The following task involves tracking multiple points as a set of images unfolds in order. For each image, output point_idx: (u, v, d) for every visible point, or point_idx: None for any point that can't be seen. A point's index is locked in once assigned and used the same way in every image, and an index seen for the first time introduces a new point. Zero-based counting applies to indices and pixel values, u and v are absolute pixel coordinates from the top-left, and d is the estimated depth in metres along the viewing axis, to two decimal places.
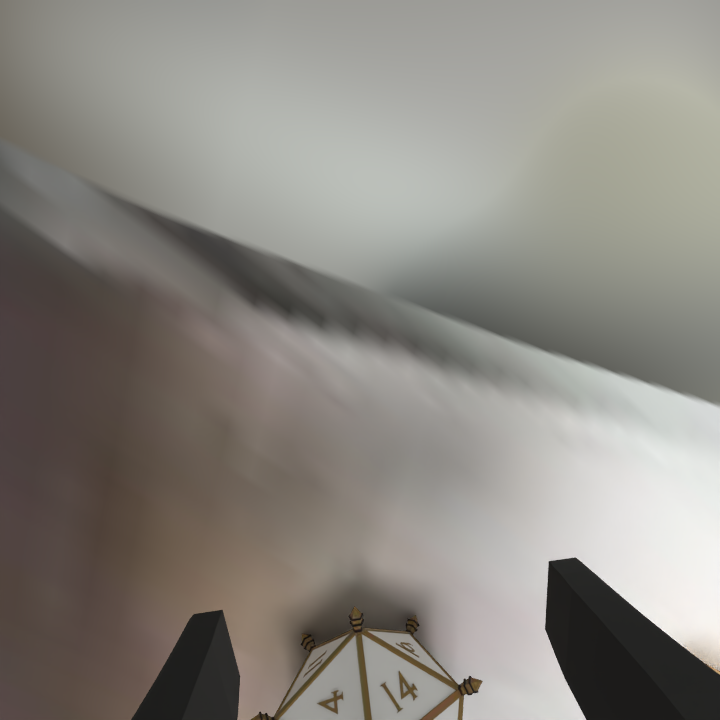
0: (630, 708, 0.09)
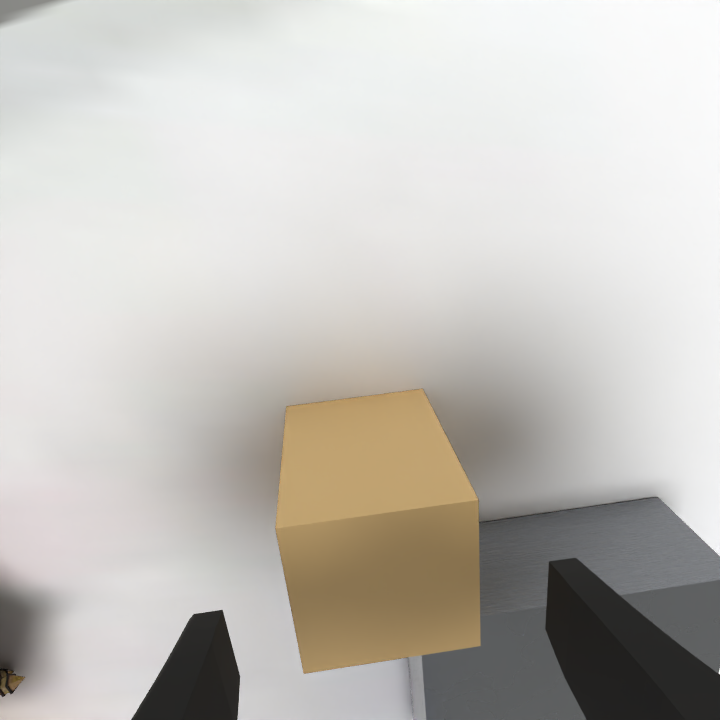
0: (630, 708, 0.09)
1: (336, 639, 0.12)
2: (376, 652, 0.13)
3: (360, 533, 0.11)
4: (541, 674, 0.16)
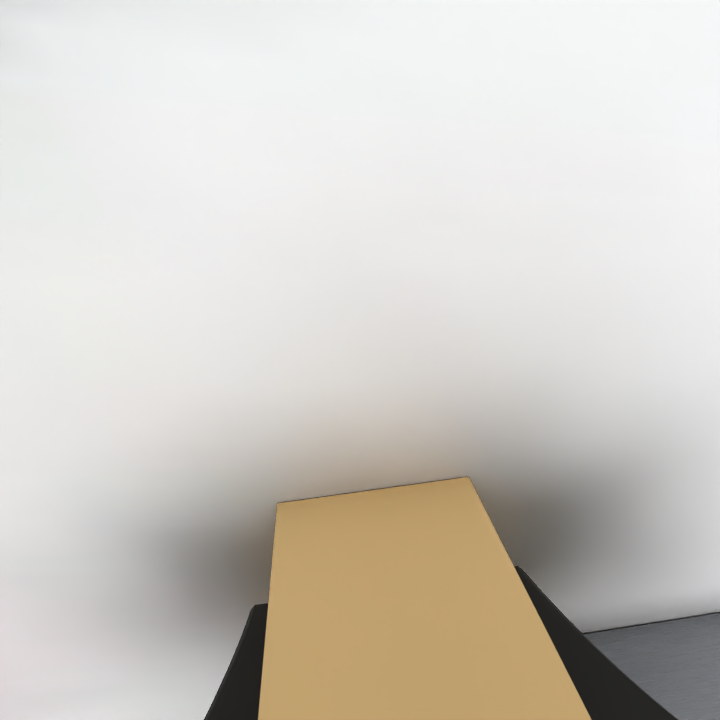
0: None
1: None
2: None
3: None
4: None
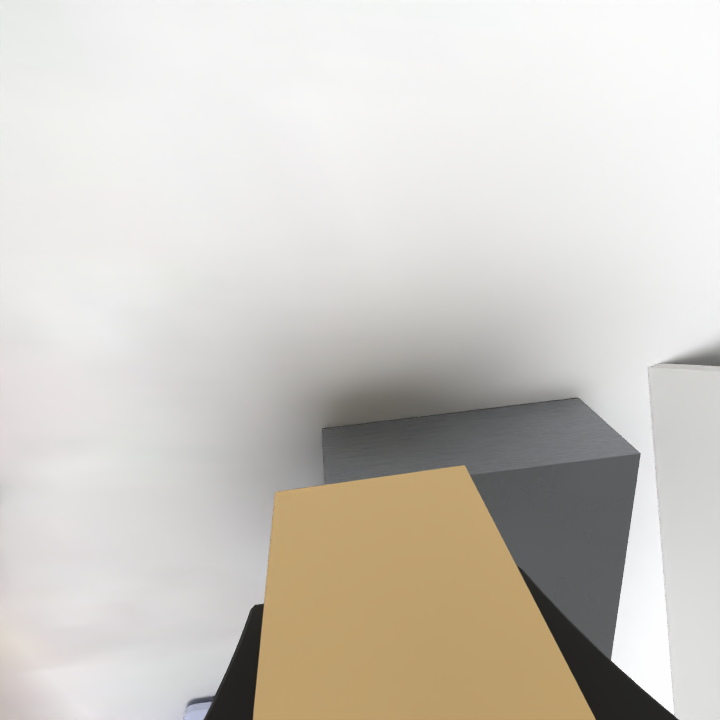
0: None
1: None
2: None
3: None
4: None
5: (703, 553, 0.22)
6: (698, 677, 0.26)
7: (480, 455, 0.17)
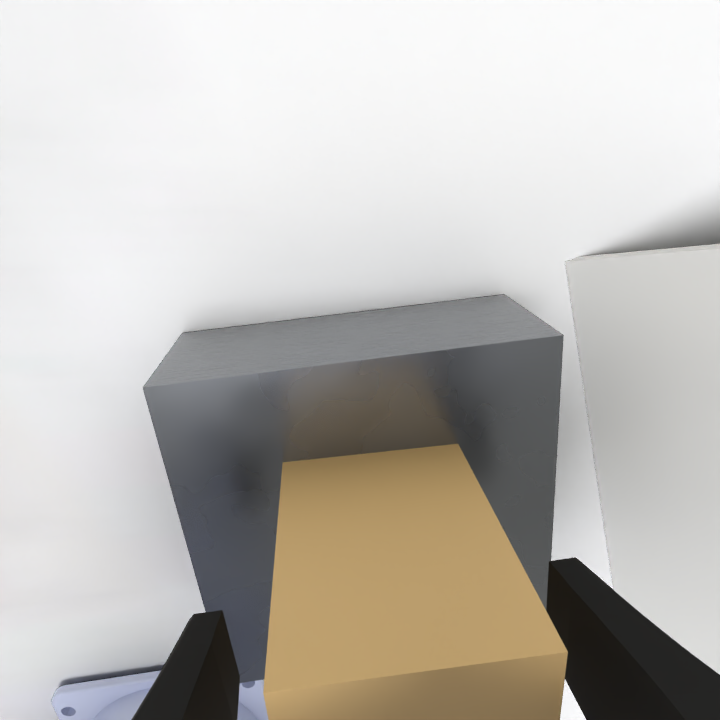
0: (630, 708, 0.09)
1: None
2: None
3: (391, 697, 0.08)
4: None
5: (646, 500, 0.18)
6: None
7: (360, 345, 0.13)
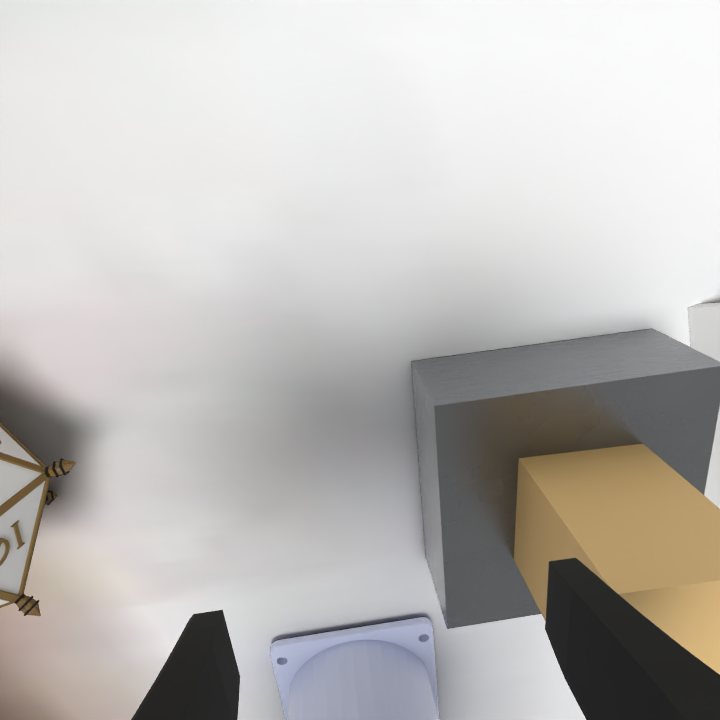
0: (630, 708, 0.09)
1: None
2: None
3: (685, 599, 0.12)
4: None
5: None
6: None
7: (573, 372, 0.18)
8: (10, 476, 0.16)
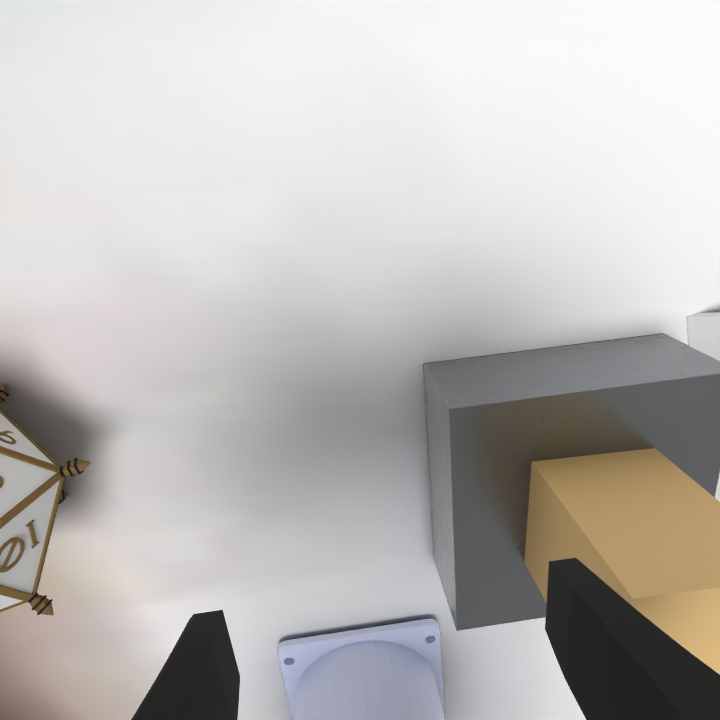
0: (630, 708, 0.09)
1: None
2: None
3: (702, 603, 0.13)
4: None
5: None
6: None
7: (586, 377, 0.18)
8: (25, 475, 0.16)
